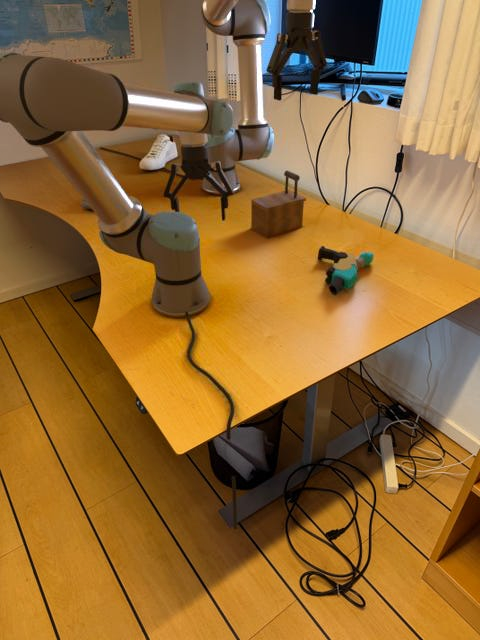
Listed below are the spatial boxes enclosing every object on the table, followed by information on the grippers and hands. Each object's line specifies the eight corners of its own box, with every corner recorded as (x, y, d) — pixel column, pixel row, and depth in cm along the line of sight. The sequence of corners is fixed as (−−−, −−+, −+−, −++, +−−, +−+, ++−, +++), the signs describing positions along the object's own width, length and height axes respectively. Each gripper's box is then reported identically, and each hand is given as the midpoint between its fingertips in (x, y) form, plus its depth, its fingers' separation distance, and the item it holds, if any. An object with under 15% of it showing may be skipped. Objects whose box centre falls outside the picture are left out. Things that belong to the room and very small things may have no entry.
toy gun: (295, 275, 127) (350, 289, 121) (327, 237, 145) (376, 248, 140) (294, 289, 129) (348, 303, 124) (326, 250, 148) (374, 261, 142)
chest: (286, 217, 168) (287, 193, 163) (302, 226, 162) (303, 201, 157) (251, 228, 162) (251, 202, 157) (266, 237, 156) (267, 211, 150)
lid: (289, 192, 163) (290, 167, 158) (306, 200, 157) (307, 174, 152) (251, 202, 157) (251, 176, 151) (267, 211, 150) (267, 185, 145)
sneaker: (133, 173, 208) (129, 144, 201) (161, 153, 230) (158, 127, 223) (155, 175, 205) (151, 146, 198) (180, 155, 227) (178, 129, 220)
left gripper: (240, 140, 132) (243, 214, 143) (152, 143, 134) (162, 216, 145) (238, 145, 126) (242, 222, 136) (146, 148, 128) (156, 224, 138)
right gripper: (326, 8, 136) (319, 89, 149) (254, 12, 125) (254, 99, 138) (344, 9, 131) (336, 93, 143) (271, 14, 120) (269, 104, 133)
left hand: (201, 219), depth 141 cm, fingers open, 13 cm apart
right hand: (295, 96), depth 141 cm, fingers open, 13 cm apart
